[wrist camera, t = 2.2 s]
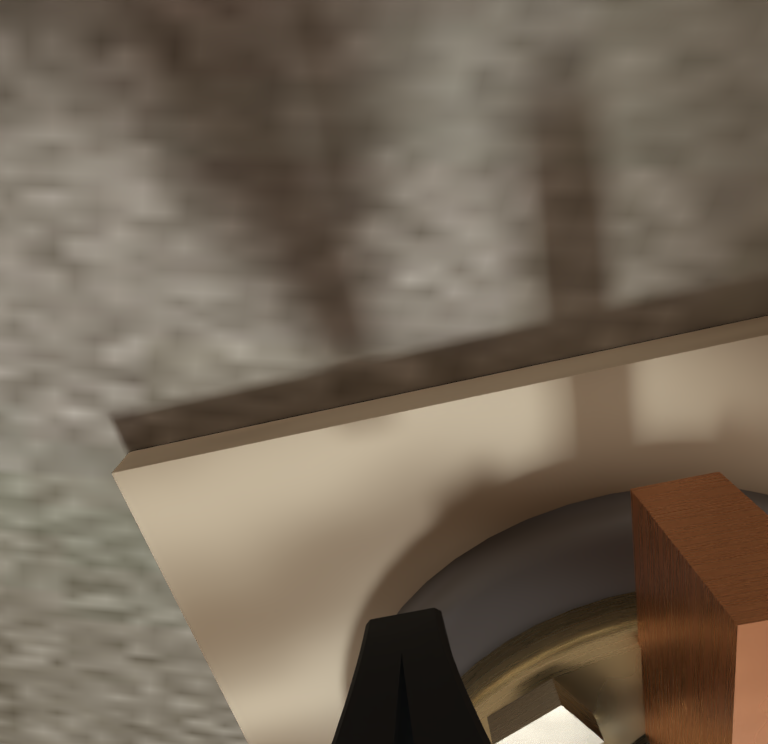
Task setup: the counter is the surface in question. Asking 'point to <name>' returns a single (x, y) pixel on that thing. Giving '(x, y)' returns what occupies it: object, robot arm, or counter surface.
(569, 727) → the studded brass disc
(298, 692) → the nut base
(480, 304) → the counter surface
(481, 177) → the counter surface
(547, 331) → the counter surface
